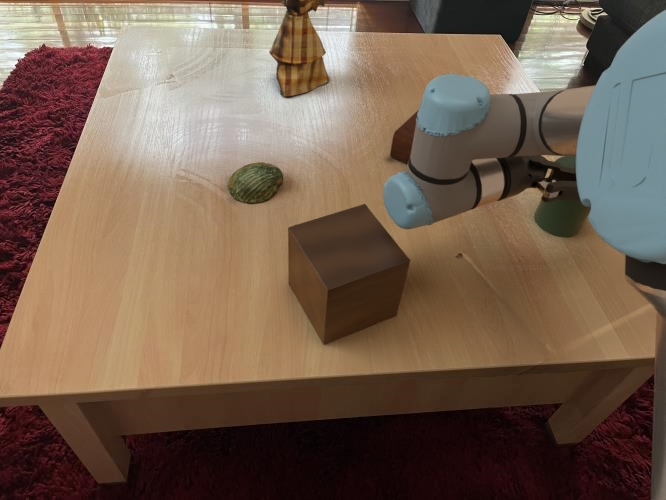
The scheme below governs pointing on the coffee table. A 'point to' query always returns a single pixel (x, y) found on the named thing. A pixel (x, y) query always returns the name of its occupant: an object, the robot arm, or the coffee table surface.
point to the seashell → (255, 182)
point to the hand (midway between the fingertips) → (597, 141)
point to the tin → (561, 217)
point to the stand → (345, 271)
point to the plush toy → (299, 50)
